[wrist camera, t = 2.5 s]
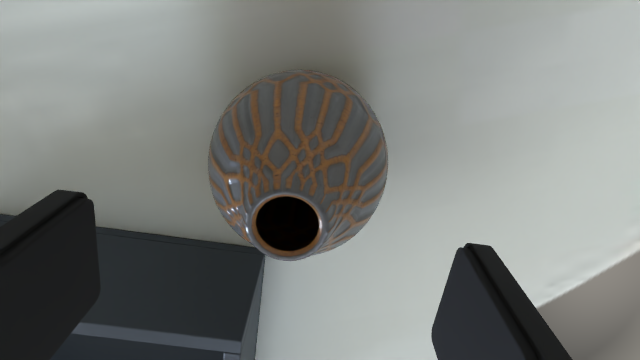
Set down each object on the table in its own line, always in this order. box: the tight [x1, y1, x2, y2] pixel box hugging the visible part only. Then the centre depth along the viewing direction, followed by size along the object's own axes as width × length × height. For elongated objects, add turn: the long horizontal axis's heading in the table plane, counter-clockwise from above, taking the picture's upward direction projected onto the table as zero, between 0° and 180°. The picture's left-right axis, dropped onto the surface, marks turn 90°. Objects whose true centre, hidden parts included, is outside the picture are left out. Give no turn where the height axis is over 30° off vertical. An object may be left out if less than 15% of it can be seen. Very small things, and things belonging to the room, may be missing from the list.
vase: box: [208, 70, 388, 261], centre depth 15 cm, size 7×7×9 cm
